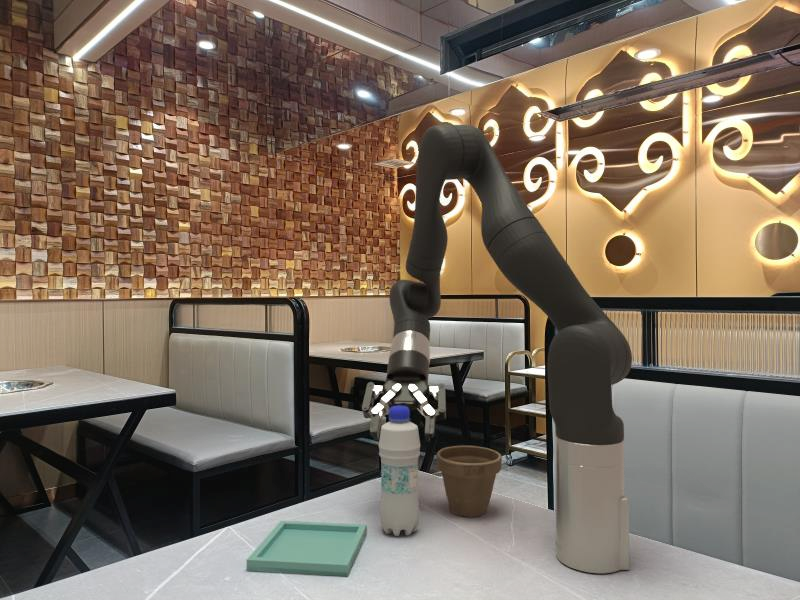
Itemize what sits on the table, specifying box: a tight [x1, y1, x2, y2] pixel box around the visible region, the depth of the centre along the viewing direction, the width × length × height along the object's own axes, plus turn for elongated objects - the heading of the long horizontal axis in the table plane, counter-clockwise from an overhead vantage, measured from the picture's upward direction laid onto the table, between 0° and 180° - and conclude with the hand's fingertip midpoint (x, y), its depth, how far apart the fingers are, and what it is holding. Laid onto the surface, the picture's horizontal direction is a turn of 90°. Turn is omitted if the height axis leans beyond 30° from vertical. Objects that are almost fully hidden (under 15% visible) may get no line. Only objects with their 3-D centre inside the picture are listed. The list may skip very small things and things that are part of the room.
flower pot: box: [436, 445, 503, 518], centre depth 99 cm, size 12×11×10 cm
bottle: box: [378, 405, 421, 537], centre depth 91 cm, size 7×7×20 cm
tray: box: [246, 520, 368, 577], centre depth 83 cm, size 14×14×2 cm
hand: (401, 438), depth 93 cm, fingers open, 8 cm apart
